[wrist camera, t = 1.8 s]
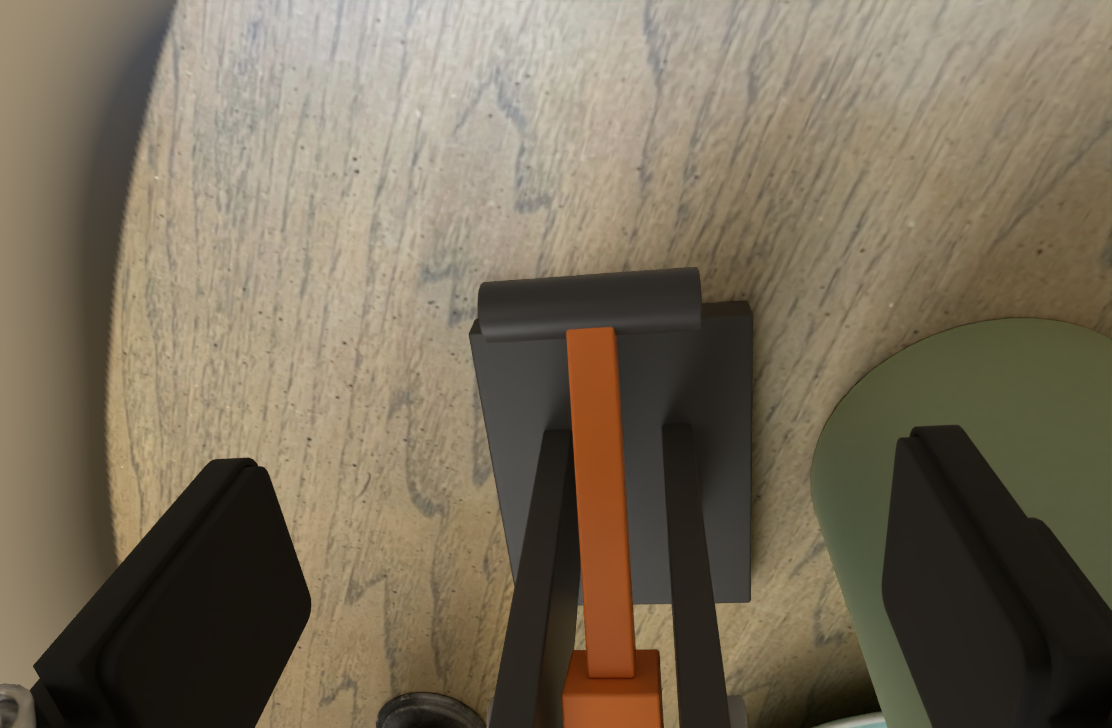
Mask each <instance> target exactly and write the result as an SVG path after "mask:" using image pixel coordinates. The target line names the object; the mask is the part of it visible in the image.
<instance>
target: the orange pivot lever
mask: <svg viewBox="0 0 1112 728" xmlns="http://www.w3.org/2000/svg"><path fill="white" fill-rule="evenodd" d="M478 317H479V324H480V329H481V333H482V336H483V339H484V341H485V342H486V343H503V342H519V341H534V340H550V339H566V338H567V354H568V369H569V385H570V401H571V417H572V433H573V448H574V464H575V480H576V496H577V512H578V527H579V543H580V559H581V575H582V591H583V606H584V622H585V638H586V650H574V651H572V654H571V658H570V662H569V666H568V670H567V674H566V679H565V683H564V687H563V691H562V695H561V702H562V717H563V728H664V723H663V706H662V689H661V672H660V655H659V651H658V650H656V649H654V650H636V647H635V630H634V614H633V597H632V581H631V564H630V547H629V531H628V514H627V498H626V481H625V465H624V448H623V432H622V415H621V399H620V382H619V366H618V349H617V335H630V334H646V333H662V332H678V331H694V330H700V329H701V328H702V294H701V282H700V273H699V269H698V267H685V268H672V269H658V270H644V271H631V272H617V273H603V274H590V275H576V276H562V277H549V278H535V279H522V280H508V281H494V282H483V283H482V284H481V285H480V288H479V293H478Z"/></svg>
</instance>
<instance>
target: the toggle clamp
mask: <svg viewBox="0 0 1112 728" xmlns="http://www.w3.org/2000/svg"><path fill="white" fill-rule="evenodd" d="M469 339H470V344H471V350H472V355H473V361H474V366H475V372H476V377H477V383H478V388H479V394H480V399H481V405H482V410H483V416H484V421H485V427H486V432H487V438H488V443H489V449H490V454H491V460H492V466H493V471H494V477H495V482H496V488H497V493H498V499H499V504H500V510H501V515H502V521H503V526H504V532H505V537H506V543H507V548H508V554H509V559H510V565H511V570H512V576H513V581H514V587H515V588H514V593H513V598H512V604H511V609H510V614H509V620H508V625H507V631H506V636H505V641H504V647H503V652H502V658H501V663H500V668H499V674H498V679H497V684H496V690H495V695H494V697H493V698H492V699H491V702H490V705H489V709H488V715H487V727H486V728H563V717H562V702H561V695H562V691H563V687H564V683H565V679H566V674H567V670H568V666H569V662H570V658H571V654H572V651H574V644H575V632H576V620H577V608H578V605H583V591H582V575H581V559H580V543H579V527H578V512H577V496H576V480H575V464H574V448H573V433H572V417H571V401H570V385H569V369H568V354H567V338H566V339H550V340H534V341H519V342H503V343H486V342H485V341H484V339H483V336H482V333H481V329H480V324H479V319H476V320H475V321H474V323H473V325H472V328H471V330H470V332H469ZM617 349H618V366H619V382H620V399H621V415H622V432H623V448H624V465H625V481H626V498H627V514H628V531H629V547H630V564H631V581H632V597H633V605H634V604H672V615H673V631H674V647H675V662H676V678H677V694H678V709H679V725H680V728H748V723H747V715H746V708H745V703H744V699H743V697H742V696H740V695H727V693H726V685H725V678H724V670H723V662H722V655H721V647H720V639H719V632H718V624H717V617H716V609H715V603H749V602H750V601H751V515H752V403H753V314H752V311H751V308H750V305H749V303H748V301H737V302H722V303H707V304H702V328H701V329H700V330H694V331H678V332H662V333H646V334H630V335H617Z"/></svg>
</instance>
